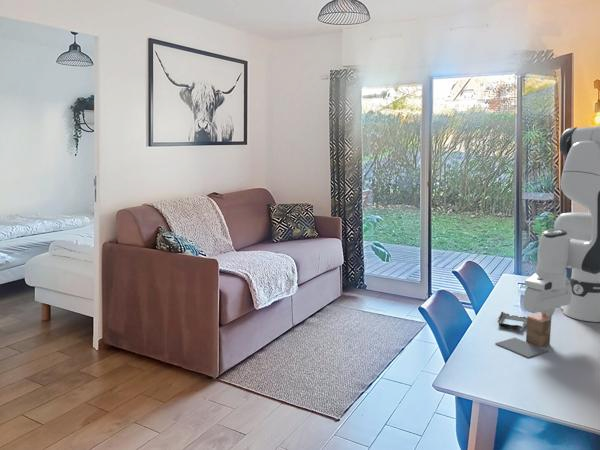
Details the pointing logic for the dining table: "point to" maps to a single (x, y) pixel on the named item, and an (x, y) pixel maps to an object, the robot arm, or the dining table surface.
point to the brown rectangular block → (538, 329)
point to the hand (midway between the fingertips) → (546, 321)
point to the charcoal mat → (521, 347)
